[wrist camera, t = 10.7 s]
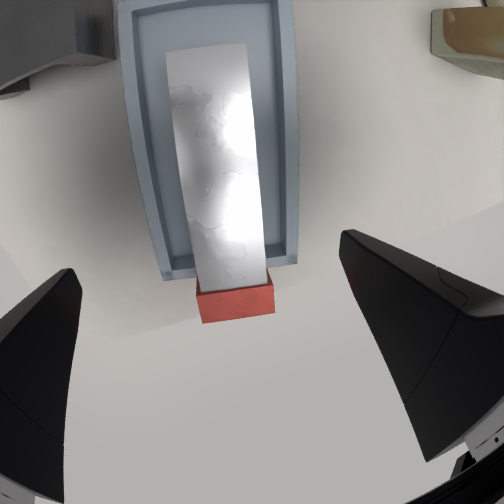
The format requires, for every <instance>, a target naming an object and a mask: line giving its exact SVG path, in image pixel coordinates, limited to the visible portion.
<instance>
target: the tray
mask: <svg viewBox="0 0 504 504" xmlns="http://www.w3.org/2000/svg"><path fill="white" fill-rule="evenodd" d="M117 9H118V31H119V46H120V58H121V69H122V78H123V87H124V95H125V103H126V110H127V117H128V124H129V130H130V137H131V143H132V148H133V154H134V159H135V165H136V170H137V175H138V180H139V185H140V190H141V194H142V199H143V204H144V208H145V212H146V217H147V221H148V225H149V229H150V233H151V237H152V241H153V245H154V249H155V253H156V257H157V260H158V264H159V268H160V271H161V275H162V278H163V281H169V280H177V279H185V278H193V277H197V270H196V265H195V259H194V254H193V249H192V244H191V238H190V233H189V227H188V222H187V216H186V210H185V204H184V198H183V192H182V185H181V179H180V172H179V166H178V159H177V152H176V144H175V137H174V129H173V121H172V113H171V104H170V95H169V85H168V75H167V64H166V52H172V51H178V50H184V49H191V48H198V47H206V46H215V45H226V44H239V43H246V49H247V59H248V69H249V79H250V89H251V99H252V110H253V120H254V131H255V142H256V153H257V164H258V175H259V187H260V198H261V210H262V222H263V234H264V247H265V259H266V268H268V267H276V266H283V265H290V264H297V252H298V201H299V149H298V100H297V73H296V52H295V35H294V20H293V6H292V0H127V1H123V2H119V3H117Z"/></svg>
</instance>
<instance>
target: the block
mask: <svg viewBox="0 0 504 504" xmlns="http://www.w3.org/2000/svg"><path fill="white" fill-rule="evenodd" d="M113 60H116V58H115V46H114V31H113V7H112V0H0V100H4V99H9V98H13V97H15V96H18V95H20V94H22V93H24V92H26V91H28V90H30V88H29V78H28V76H29V75H32V74H34V73H36V72H38V71H41V70H43V69H45V68H48V67H50V66H53V65H55V64H68V65H84V66H95V65H99V64H102V63H106V62H109V61H113Z"/></svg>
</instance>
